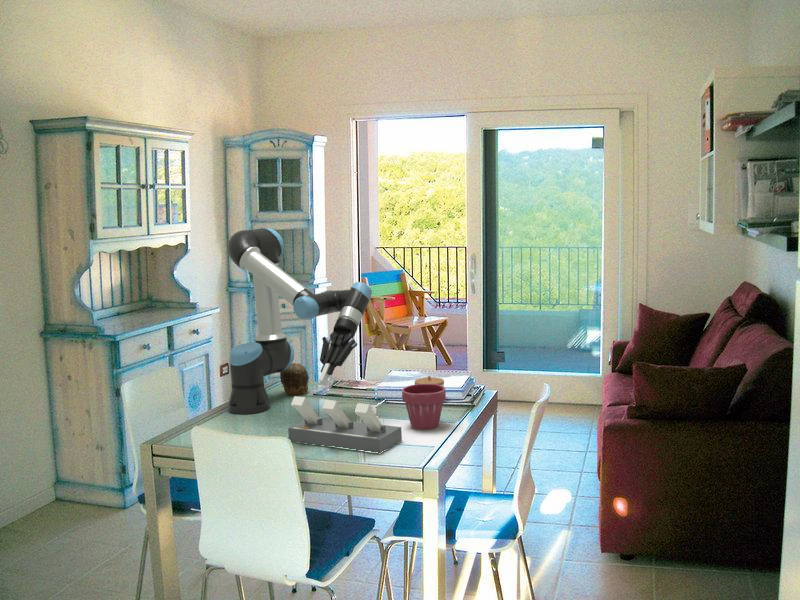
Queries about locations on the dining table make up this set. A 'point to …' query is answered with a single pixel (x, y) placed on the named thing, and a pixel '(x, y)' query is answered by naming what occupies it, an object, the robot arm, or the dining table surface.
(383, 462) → the dining table surface
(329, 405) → the middle lever
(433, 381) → the lidded jar
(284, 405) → the dining table surface
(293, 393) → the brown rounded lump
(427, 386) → the plant pot
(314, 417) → the lever
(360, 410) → the right lever
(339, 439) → the breaker panel
